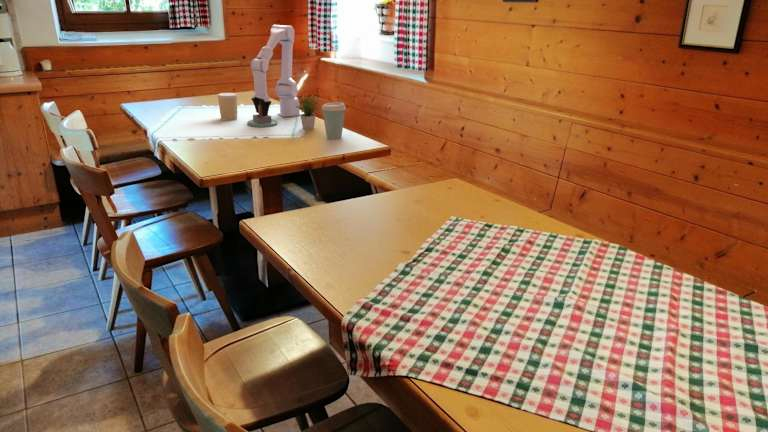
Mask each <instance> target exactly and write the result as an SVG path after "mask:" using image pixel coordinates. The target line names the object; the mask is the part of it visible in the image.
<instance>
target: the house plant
mask: <svg viewBox="0 0 768 432" xmlns="http://www.w3.org/2000/svg"><path fill="white" fill-rule="evenodd" d="M301 98H302V99H300V98H299V97H297V99H298V100H299V104H300V105H301V106H300V105H299V106H295V107H297V108H299V110H301V112H300V115H299V117H300V121H301V125H302V126H301V127H302V129H303V130H309V131H310V130H314V128H315V123H316V114H314V112H315V111H318V112H319V110H318V109H319V108H320V105H319V106H318V104H321V103H323V101H321V99H323V98H318V99H317V95H314V94H312V95H311V97H310V98H309V97H308V95H307V94H305V96H304V95H302V96H301ZM308 98H309V99H308ZM315 105H317V106H315Z"/></svg>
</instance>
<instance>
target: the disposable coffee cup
mask: <svg viewBox="0 0 768 432" xmlns="http://www.w3.org/2000/svg"><path fill="white" fill-rule="evenodd" d="M321 109H322V115H323V120H324V121H323V123H324V128H325V134H326V135H325V136H326V137H327V139H331V140H332V139H333V140H337V139H341V138H342V134H343V128H344V121H345V113H346V110H347V106H345V103H344V102H341V101H340V102H329V103H328V102H327V103H325V104H323V105H321Z"/></svg>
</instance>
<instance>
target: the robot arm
mask: <svg viewBox="0 0 768 432" xmlns="http://www.w3.org/2000/svg"><path fill="white" fill-rule="evenodd" d="M294 43H295V29H294V27H293V26H292V25H283V24H281V25H280V24H273V25H272V26H271V29H270V36H269V37H268V40H267V42H266V45H265V46H262V47H261V48H260V51H259V53H258V54H257V56H256V57H255V58H253V59H252V60H251V61H250V66H249V67H250V70H251V74H252V75H253V87H254V88H253V89H254V92H252V93H253V94H252V97H251V101H252V103H253V106H254V108H255V112H256V114H259V112H258V105H260V106H261V110H262V115H263V116H267V115H269V109H270V107H271V104H272V101H271V100H270V97H269V94H268V87H267V86H268V85H267V84H268V83H267V72H268V70H269V65H270V60H271V59H272V57H273V55H274V51H273V50H274V49H275V47H277V45H278V44H280V45H281V67H280V68H281V69H280V70H281V73H280V74H281V76H280V78H279V79H278V80H277V81H276V86H275V94H276V95H277V97H278V98H279V111H280V112H277V113H276V114H277V115H278V116H281V117H283V118H286V117H296V116H300V115H301V112H300V110H301V109H300V108H297V107H295V106H299V107H300V102H299V100H300V99H299V98H298V97H297V94H298V85H297V82H296V81H295V80H294V79H293V49H294V48H293V46H294ZM297 98H298V99H299V100H298V99H297Z"/></svg>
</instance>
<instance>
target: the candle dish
mask: <svg viewBox="0 0 768 432" xmlns="http://www.w3.org/2000/svg"><path fill="white" fill-rule="evenodd" d="M277 125H278V121H277V119H273V118H272V116H271V115H270V114H268V115H267V116H265V117H259V113H257V114H253V115H252V119H250V120H248V121H247V126H248V127H254V128H269V127H275V126H277Z"/></svg>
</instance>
